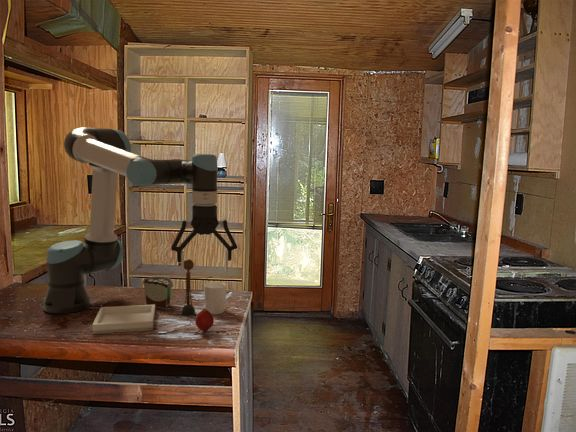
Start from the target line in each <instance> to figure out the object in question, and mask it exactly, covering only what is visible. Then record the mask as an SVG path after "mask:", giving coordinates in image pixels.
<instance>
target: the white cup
mask: <svg viewBox="0 0 576 432" xmlns="http://www.w3.org/2000/svg"><path fill="white" fill-rule="evenodd" d="M203 285H204V286H203V288H204V305H205V308H206V310H207V311H209V312H210V313H211V314H212V315H220V314H223V313H224V312H225V309H226V308H225V306H226V305H225V304H226V298H227V283H225V282H224V281H223V282H222V281H208V282H205V283H204V284H203Z"/></svg>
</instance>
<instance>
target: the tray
mask: <svg viewBox="0 0 576 432" xmlns="http://www.w3.org/2000/svg"><path fill="white" fill-rule="evenodd" d="M155 316H156V307H155V304H154V305H146V304H140V305H139V304H138V305H137V304H136V305H135V304H134V305H119V306H100V308H99V311H98V312H97V314H96V317H95V318H94V320H93V323H92V324H91V325H92V334H93V335H98V334H99V335H100V334H111V333H112V334H114V332H115V334H116V332H117V333H128V332H133V333H134V332H143V331H144V332H145V331H147V332H148V331H154V326H155V325H154V324H155Z"/></svg>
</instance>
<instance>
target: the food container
mask: <svg viewBox="0 0 576 432" xmlns="http://www.w3.org/2000/svg"><path fill="white" fill-rule="evenodd" d="M142 284H144V286H143V287H144V296H145V305H154V304H155V308H156V309H162V310H168V309H169V308H170V306H171V293H172V289H173V287H174V282H173V280H172V279H171V278H170V277H166V276H150V277H145V278H143V280H142Z"/></svg>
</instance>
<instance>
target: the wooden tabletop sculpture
mask: <svg viewBox="0 0 576 432" xmlns="http://www.w3.org/2000/svg"><path fill="white" fill-rule="evenodd" d="M177 263H178V267H179V266H180V267H181V262H177ZM194 266H195V264H194V261H193V260H192V259H189V258H187V259H186V258H185V259H184V270H186V271H187V272H185V280H186V281H185V282H186V283H185V299H184V300H185V301H184V306H183V307H182V309H181V316H183V317H192V316H193V317H194V315H196V310H195V307H194V306H193V302H192V293H191V273H192V272H191V271H192V269H194Z"/></svg>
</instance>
